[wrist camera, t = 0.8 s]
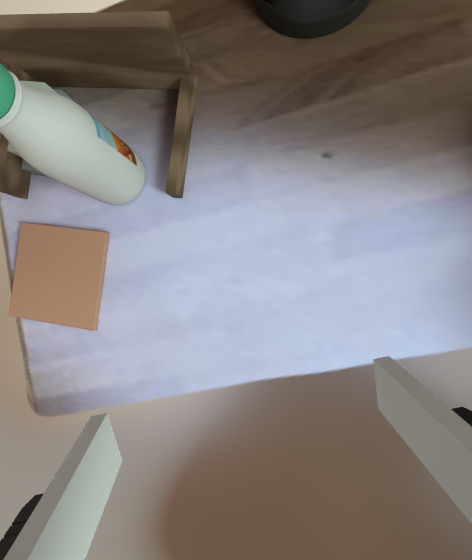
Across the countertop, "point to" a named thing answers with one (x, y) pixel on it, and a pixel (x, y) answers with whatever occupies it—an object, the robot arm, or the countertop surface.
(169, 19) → the frame
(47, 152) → the milk bottle
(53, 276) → the tile pad
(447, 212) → the countertop surface
